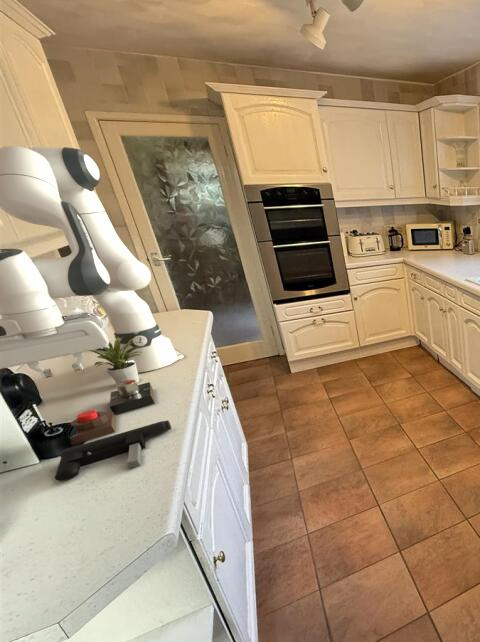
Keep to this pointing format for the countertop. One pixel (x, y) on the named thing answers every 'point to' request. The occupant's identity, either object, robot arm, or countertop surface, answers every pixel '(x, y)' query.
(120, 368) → the house plant
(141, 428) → the black gun
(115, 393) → the dial panel
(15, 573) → the countertop surface
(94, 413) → the power button
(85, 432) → the power base
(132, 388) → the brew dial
